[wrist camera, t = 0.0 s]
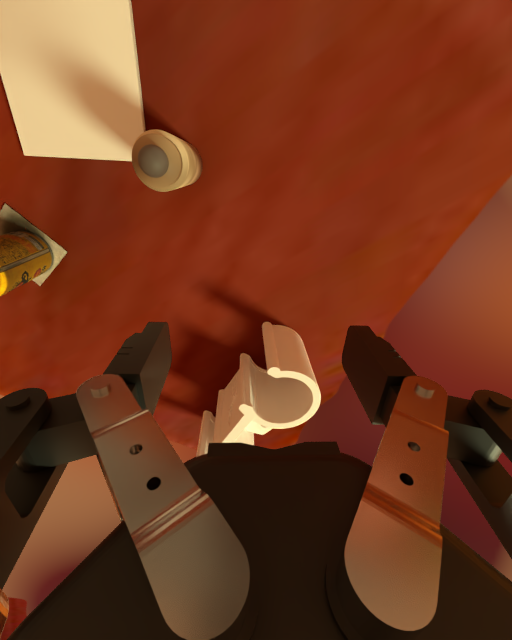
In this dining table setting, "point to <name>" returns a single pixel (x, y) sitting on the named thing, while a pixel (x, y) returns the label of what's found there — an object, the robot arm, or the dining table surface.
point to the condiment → (24, 252)
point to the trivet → (72, 77)
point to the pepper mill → (165, 161)
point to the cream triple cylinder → (264, 393)
